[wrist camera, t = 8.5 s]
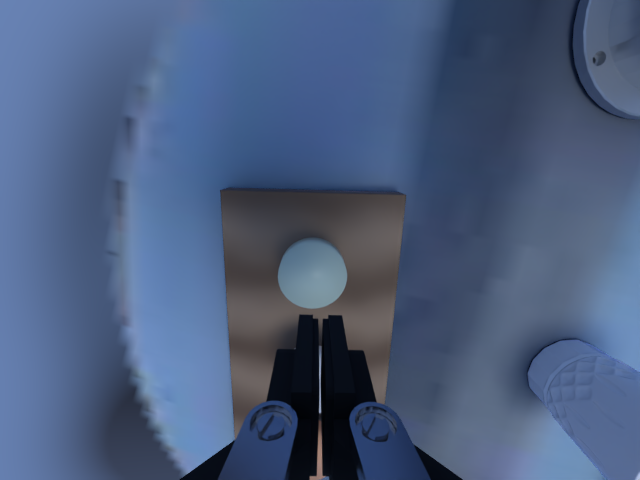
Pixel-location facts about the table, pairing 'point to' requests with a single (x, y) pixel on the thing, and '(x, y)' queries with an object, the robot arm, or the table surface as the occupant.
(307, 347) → the robot arm
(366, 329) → the button panel
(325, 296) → the sage button
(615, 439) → the white cup
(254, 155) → the table surface
